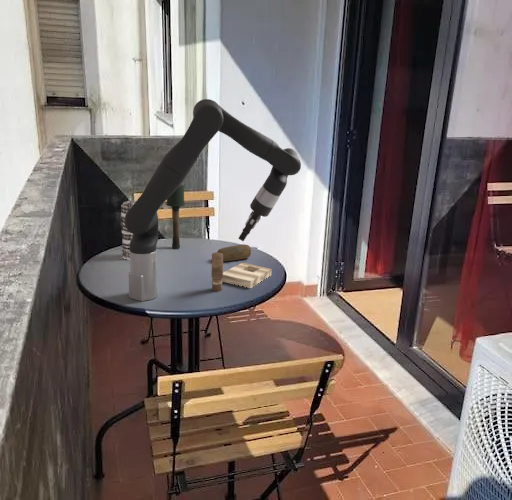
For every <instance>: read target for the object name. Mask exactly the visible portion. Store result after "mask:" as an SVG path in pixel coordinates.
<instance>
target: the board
mask: <svg viewBox="0 0 512 500" xmlns="http://www.w3.org/2000/svg"><path fill="white" fill-rule="evenodd" d="M269 276H270V277H272V268H269V267H263V266H259V265H255V264H251V263H245V262H241V263H239V264H237V265H234V266H233V267H230V268H229V269H227V270H224V271H223V278H222V283H227V284H231V285H234V284H235V286H238V285H239V287H242V286H244V287H243V288H246V287H247V288H246V289H250V288H251V289H252V288H254V287H256V286H257V285H259V284H261V283H262V282H264V281H265V280H267V279H268V277H269ZM270 277H269V278H270ZM266 278H267V279H266ZM264 279H265V280H264ZM263 280H264V281H263ZM261 281H262V282H261ZM260 282H261V283H260ZM258 283H259V284H258ZM255 285H256V286H255ZM253 286H254V287H253Z"/></svg>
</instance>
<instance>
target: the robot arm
mask: <svg viewBox="0 0 512 500" xmlns="http://www.w3.org/2000/svg"><path fill="white" fill-rule="evenodd" d="M192 116H193V117H192V120H191V122H190V125H189V126H188V128H187V130H186V132H185V133H184V135H183V136H182V138H181V139H180V140H179V141H178V142H177V143H176V144H175V145H174V146H173V147H171V149H170V150H169V151H168V152H167V153H166V154H165V156H164V157H163V158H162V160H161V161H160V163H159V165H158V166H157V167H156V169H155V171H154V173H153V174H152V176H151V178H150V180H149V181H148V183H147V184H146V186H145V188H144V190H143V192H142V193H141V194H140V195H139V197H138V199H136V202H135V203H134V205H133V206H132V207H131V208H130V209H129V210H128V212H127V213H126V215H125V226H126V229H127V230H128V231H129V232H130V233H133V237H132V239H131V241H130V244H129V251H130V260H129V269H130V270H129V272H128V273H127V274H128V275H127V278H128V293H129V297H128V298H130V299H132V300H136V301H139V302H145V301H150V300H153V299H155V298H157V297H158V272H157V271H158V269H157V267H158V266H157V265H158V263H157V245H158V241H159V215H158V210H159V209H160V208H161V206H162V205H163V204H164V203H165V202H167V199H168V198H169V197H170V196H171V195H172V194H173V193H174V192H175V191H176V189H177V188H178V187H179V186H180V185H182V183H183V182H184V180H185V179H186V178H187V177H188V174H189V173H190V171H191V169H192V168H193V167H194V165H195V163H196V162H197V160H198V158H199V156H200V154H201V153H202V151H203V150H204V149H205V148H206V146H207V145H208V144H209V142H210V141H211V140H213V138H214V137H215V136H216V134H217V133H218V132H219V133H222V134H224V135H225V136H227V137H228V138H230V139H231V140H233V141H235V142H236V143H237V144H238V145H240V146H241V147H242V148H244V150H246V151H248V152H249V153H251V154H252V155H255V156H256V157H258V158H260V159H261V160H264V161H265V162H267V163H268V164H270V166H272V167H271V170H270V173H269V174H268V176H267V178H266V180H264V182H263V184H262V186H261V187H260V188H259V189H258V191H257V193H256V194H255V196H254V197H253V199H252V201H251V203H250V205H249V206H250V207H249V208H250V209H251V210H252V211H251V212H250V214H249V215H248V219H247V220H246V222H245V225H244V228H242V232H241V233H240V234H239V237H238V240H240V241H242V242H244V241H245V239H246V238H247V237H248V236H249V234H250V233H251V231H252V230H254V228H255V227H256V225H257V224H258V223H259V222H260V220H261V218H262V217H265V218H266V217H268V216H269V215H270V213H271V212H272V211H273V209H274V207H275V205H276V204H277V202H278V200H279V199H280V196H281V195H282V193H283V191H284V190H285V188H286V187H287V183H288V178H289V176H294V175H297V174H298V173H299V172H300V170H301V166H302V163H301V159H300V158H299V155H298V153H297V151H295V150H294V149H293V148H289V147H288V148H284V149H283V148H282V147H281V146H280V145H279V144H278V143H277V142H276V141H274V140H273V139H272V138H270V137H268V136H266V135H265V134H263V133H261V132H259V131H257V130H256V129H254V128H252V127H251V126H248V125H247V124H245V123H243V122H242V121H240V120H239V119H237V118H236V117H234V116H233V115H232V114H230V113H229V112H228V111H227V110H225V109H224V108H223V107H222V106H221V105H219V104H218V103H217V102H216V101H214V100H212V99H210V98H204V99H201V100H199V101H198V102H196V104H195V105H194V106H193V110H192Z"/></svg>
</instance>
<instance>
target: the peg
mask: <svg viewBox="0 0 512 500" xmlns="http://www.w3.org/2000/svg"><path fill="white" fill-rule="evenodd" d="M223 272H224V261H223V254H222V253H217V252H212V253H211V278H212V279H211V284H212V285H211V286H212V287H211V290H212V292H213V291H214V292H221V291H222V289H223V282H222V278H223Z"/></svg>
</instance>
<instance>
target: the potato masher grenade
mask: <svg viewBox="0 0 512 500" xmlns="http://www.w3.org/2000/svg"><path fill="white" fill-rule="evenodd" d="M165 205H166V206H168V207H171V217H172V243H171V247H172V249H174V250H178V249H180V248H181V243H180V236H179V235H180V229H179V227H180V226H179V222H180V221H179V219H180V207H184V206H185V205H186V203H185V186H184V184H181V185H180V186H179V187H178V188H177V189H176V191H175V192H174V193H173V194H172V195H171V196H170V197H169V198H168V199H167V200H166V203H165Z"/></svg>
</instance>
